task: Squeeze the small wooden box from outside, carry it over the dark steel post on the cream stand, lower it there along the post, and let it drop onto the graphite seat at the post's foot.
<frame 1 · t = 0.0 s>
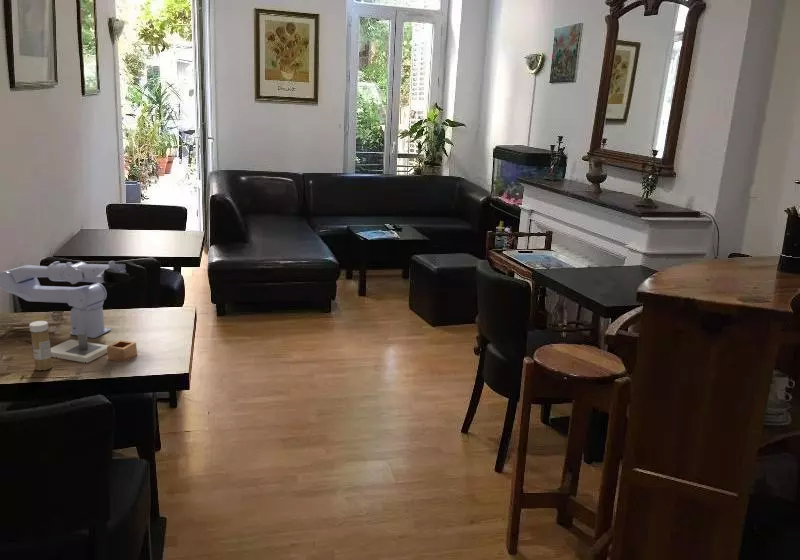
hand: (137, 274, 200), 22 cm above the table, tool horizontal, fingers open, 7 cm apart
small wooden box: (122, 357, 194), on the table
post stand: (78, 353, 196), on the table
sprinkles bottle: (44, 368, 185), on the table
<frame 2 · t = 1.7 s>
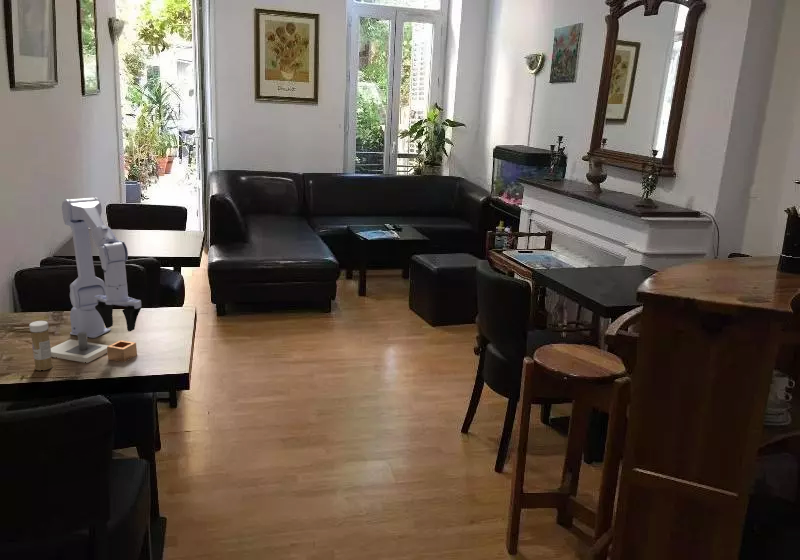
hand: (120, 328, 191), 9 cm above the table, tool pointing down, fingers open, 7 cm apart
nothing on the table moved.
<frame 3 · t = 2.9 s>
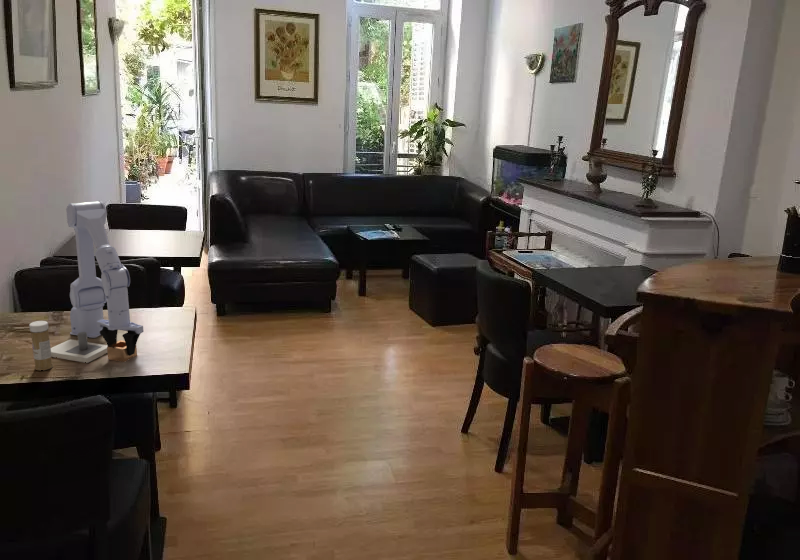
hand: (122, 352, 193), 1 cm above the table, tool pointing down, fingers closed on small wooden box, 6 cm apart
small wooden box: (122, 357, 194), on the table, touching gripper
everything else where it was.
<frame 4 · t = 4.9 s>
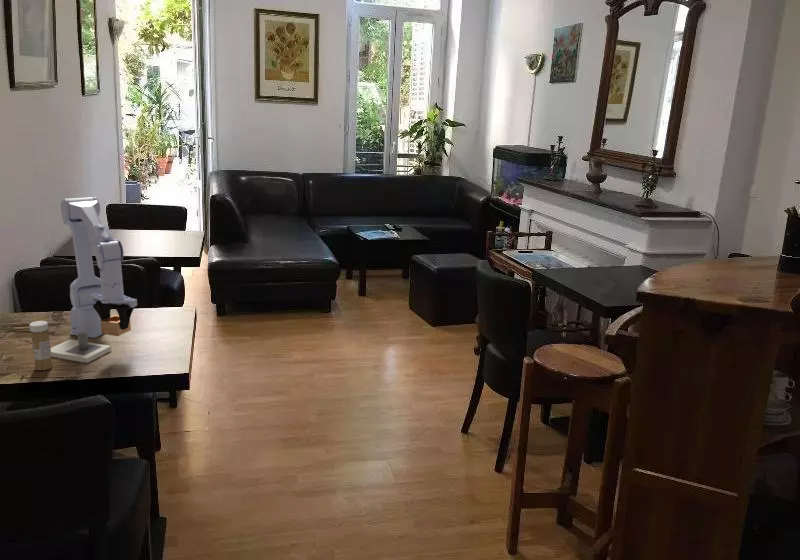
hand: (115, 327, 191), 9 cm above the table, tool pointing down, fingers closed on small wooden box, 6 cm apart
small wooden box: (116, 331, 192), point 8 cm above the table, touching gripper
everything else where it was.
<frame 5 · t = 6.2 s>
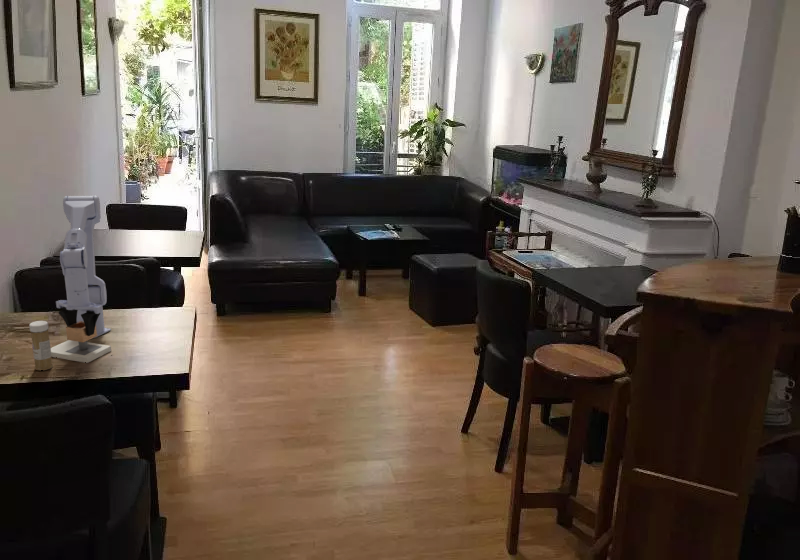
hand: (81, 333, 193), 7 cm above the table, tool pointing down, fingers closed on small wooden box, 6 cm apart
small wooden box: (82, 337, 193), point 5 cm above the table, touching gripper
everything else where it was.
when the fingers open (5 cm above the table, at t = 7.0 s): small wooden box drops 2 cm, resting on post stand.
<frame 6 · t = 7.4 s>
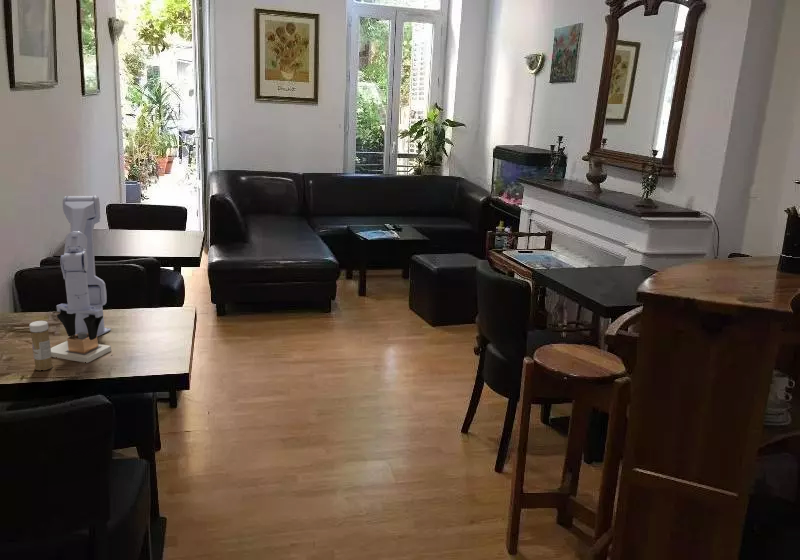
hand: (82, 337, 193), 5 cm above the table, tool pointing down, fingers open, 7 cm apart
small wooden box: (83, 349, 194), point 2 cm above the table, touching post stand
everything else where it was.
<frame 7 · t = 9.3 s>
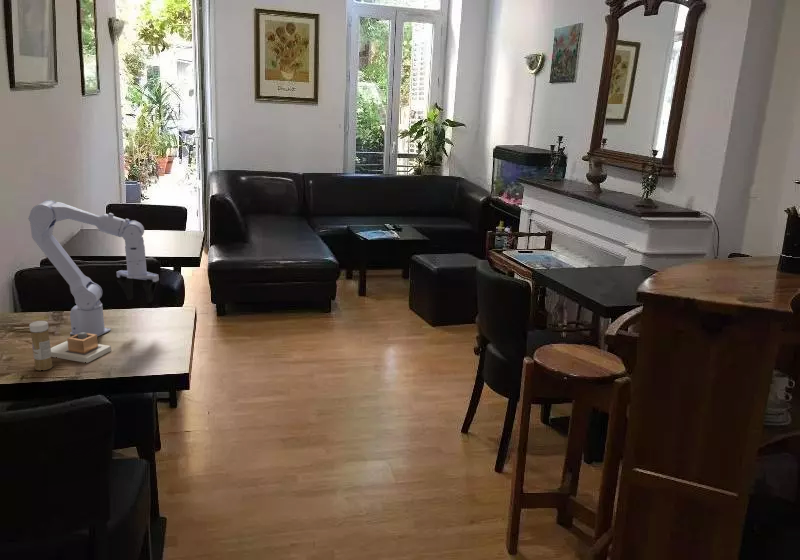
hand: (139, 300, 212), 10 cm above the table, tool pointing down, fingers open, 7 cm apart
nothing on the table moved.
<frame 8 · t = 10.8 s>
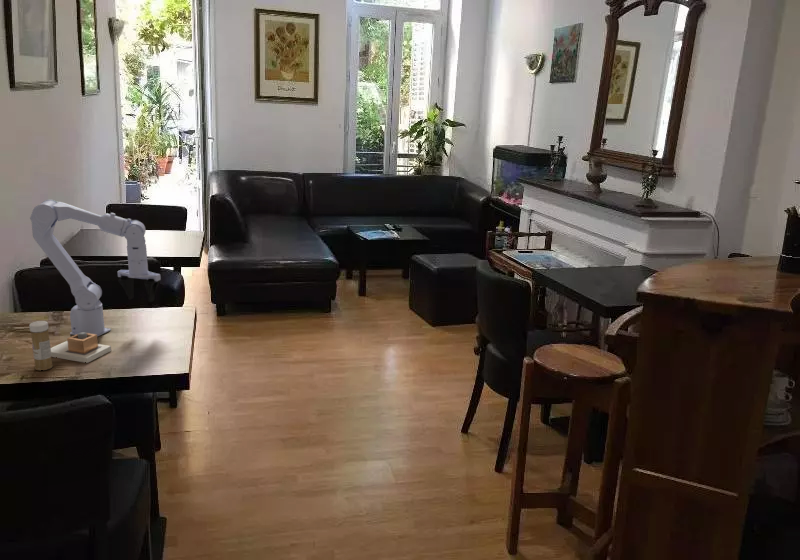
hand: (141, 299, 213), 10 cm above the table, tool pointing down, fingers open, 7 cm apart
nothing on the table moved.
at the end: small wooden box 0.0 cm from the target spot on the post stand, point 1.6 cm above the post stand's base; small wooden box tilted 0°; the gripper is holding nothing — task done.
